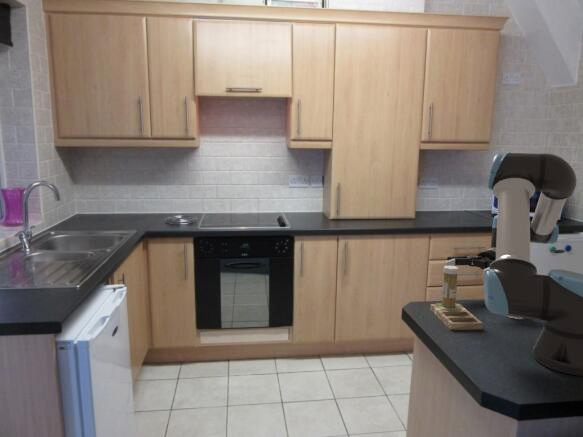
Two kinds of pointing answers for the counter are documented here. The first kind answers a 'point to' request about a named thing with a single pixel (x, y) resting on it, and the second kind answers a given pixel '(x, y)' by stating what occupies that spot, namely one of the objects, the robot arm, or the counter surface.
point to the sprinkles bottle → (449, 286)
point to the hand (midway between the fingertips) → (463, 269)
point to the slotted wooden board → (456, 317)
